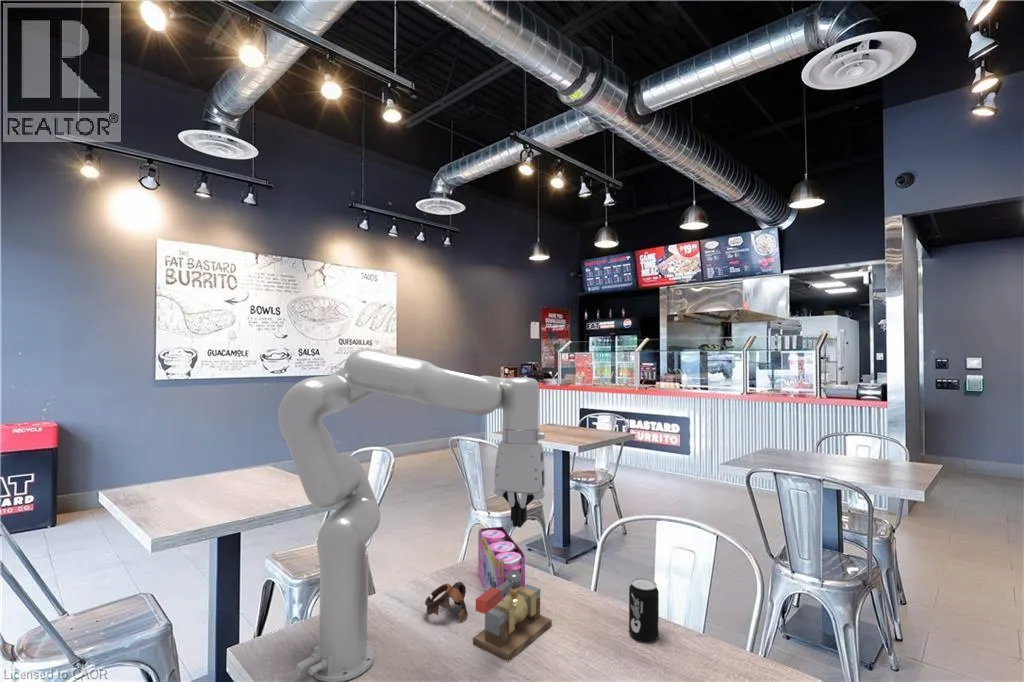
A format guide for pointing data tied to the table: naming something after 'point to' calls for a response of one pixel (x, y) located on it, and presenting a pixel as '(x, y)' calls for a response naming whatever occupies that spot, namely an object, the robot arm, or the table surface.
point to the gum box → (498, 558)
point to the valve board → (513, 636)
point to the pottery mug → (454, 592)
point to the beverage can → (643, 610)
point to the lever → (497, 593)
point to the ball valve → (512, 609)
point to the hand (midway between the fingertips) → (518, 524)
